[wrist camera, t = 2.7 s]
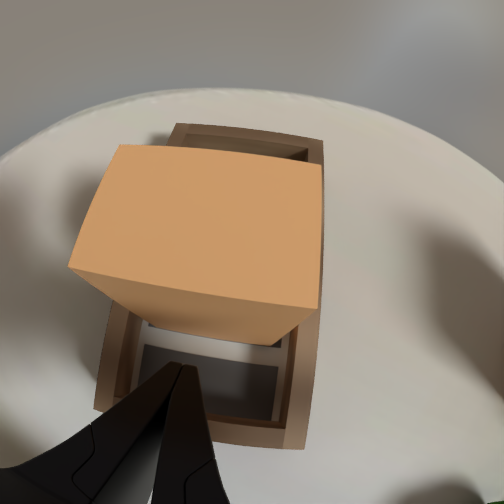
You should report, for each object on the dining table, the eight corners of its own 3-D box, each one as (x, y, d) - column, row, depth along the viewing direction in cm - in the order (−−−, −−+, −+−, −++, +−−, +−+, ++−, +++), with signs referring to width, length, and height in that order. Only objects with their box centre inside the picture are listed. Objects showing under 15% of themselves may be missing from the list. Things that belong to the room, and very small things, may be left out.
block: (270, 346, 14) (317, 308, 6) (156, 327, 14) (67, 266, 6) (278, 273, 16) (321, 164, 8) (172, 258, 16) (119, 144, 8)
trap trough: (292, 436, 13) (304, 449, 10) (116, 404, 13) (93, 408, 11) (313, 168, 20) (323, 140, 18) (181, 151, 21) (176, 123, 18)
